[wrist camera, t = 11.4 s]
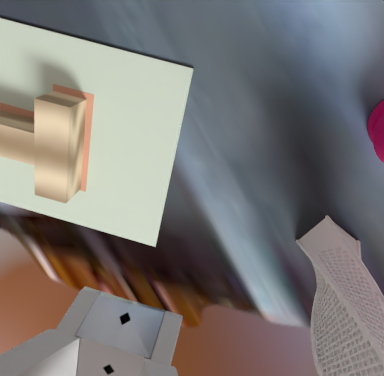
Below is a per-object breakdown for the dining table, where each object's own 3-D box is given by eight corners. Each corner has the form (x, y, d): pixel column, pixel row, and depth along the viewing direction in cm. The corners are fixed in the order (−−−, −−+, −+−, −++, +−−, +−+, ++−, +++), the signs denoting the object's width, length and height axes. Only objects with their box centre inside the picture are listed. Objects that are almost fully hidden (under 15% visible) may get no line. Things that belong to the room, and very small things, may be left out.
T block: (-11, 74, 41) (-36, 79, 37) (86, 99, 40) (69, 107, 37) (-5, 165, 46) (-27, 177, 43) (80, 188, 46) (65, 203, 42)
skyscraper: (375, 242, 42) (540, 564, 17) (328, 277, 46) (410, 587, 21) (328, 203, 41) (431, 489, 16) (283, 241, 44) (312, 526, 20)
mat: (-26, 11, 38) (-28, 11, 38) (193, 68, 37) (193, 68, 37) (-13, 196, 49) (-15, 197, 49) (155, 245, 48) (155, 246, 48)
